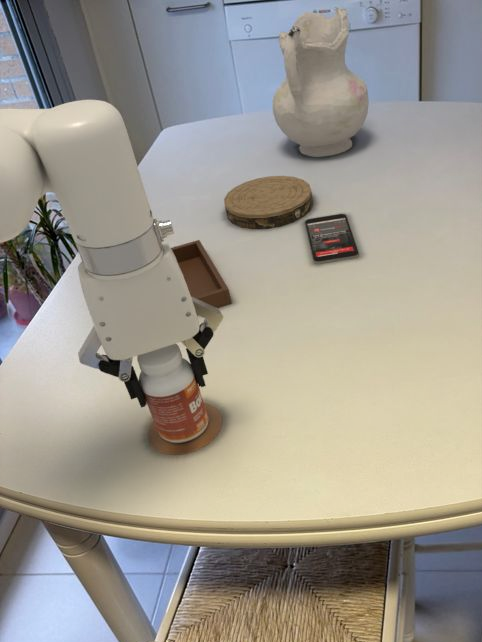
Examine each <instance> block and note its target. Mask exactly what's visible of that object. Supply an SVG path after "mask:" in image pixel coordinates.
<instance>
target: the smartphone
mask: <svg viewBox="0 0 482 642" xmlns="http://www.w3.org/2000/svg"><path fill="white" fill-rule="evenodd" d="M304 226H305V230H306V234H307V239H308V244H309V248H310V252H311V256H312V261H313V262H312V263H313V264H314V265H324V264H330V263H335V262H336V263H337V262H342V261H347V260H348V261H349V260H354V259H358V258H359V257H360V252H359V249H358V246H357V243H356V240H355V237H354V234H353V232H352V228H351V225H350V221H349V219H348V216H347V214H346V213H336V214H331V215H324V216H319V217H313V218H307V219H305V220H304Z"/></svg>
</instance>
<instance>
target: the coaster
mask: <svg viewBox="0 0 482 642" xmlns="http://www.w3.org/2000/svg"><path fill="white" fill-rule="evenodd" d="M204 405H205V408H206V411H207V415H208V425H207V427H206V429H205V430H204V431H203V432H202V433H201V434H200V435H199V436H198V437H196V438H194V439H192V440H190V441H186V442H182V443H173V442H169V441H166V440H165V439H163V438H162V437H161V436H160V435H159V433H158V431H157V428H156V426H155V423H154V420H153V419H152V421H151V423H150V425H149V427H148V431H147V439H148V441H149V444H150V445H151V447H152V448H153V449H154V450H156V451H157V452H159V453H161V454H165V455H169V456H180V455H181V456H182V455H188V454H191V453H194V452H197V451H200V450H201V449H203V448H205V447H206V446H208V445H209V444H211V443H212V442H213V441H214V440H215V439H216V438H217V437H218V435H219V434H220V432H221V430H222V427H223V418H222V414H221V412H220V411H219V410H218V409H217V408H216V407H215V406H213V405H212V404H210V403H208V402H204Z"/></svg>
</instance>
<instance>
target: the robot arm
mask: <svg viewBox="0 0 482 642" xmlns="http://www.w3.org/2000/svg"><path fill="white" fill-rule="evenodd" d="M47 193H52V194H54V195H55V198H56V201H57V203H58V205H59V207H60V210H61V212H62V215H63V217H64V220H65V222H66V225H67V227H68V230H69V232H70V235H71V237H72V239H73V241H74V245H75V247H76V249H77V251H78V254H79V257H80V259H81V262H80V263H79V264H78V267H77V271H78V279H79V282H80V287H81V291H82V294H83V297H84V301H85V304H86V307H87V310H88V312H89V316H90V318H91V321H92V324H93V326H92V328H91V330H90V331H89V333H88V335H87V337H86V339H85V340H84V342H83V344H82V345H81V347H80V349H79V351H78V353H77V356H78V357H77V358H78V360H79V363H80V364H82V365H84V366H86V367H90V368H92V369H96V370H97V369H98V370H99V371H100V372H101V373H104V374H106V375H109V376H112V377H116V378H118V380H119V381H121V382H123V384H124V386H125V389H126V390H127V393H128V395H129V398H130V400H134V399H137V401H138V403H139V406H140V409H141V408H145V407H146V406H148V405H147V402H146V400H145V397H144V395H143V392H142V390H141V387H140V384H139V377H138V375H137V373H136V370H135V368H134V366H133V359H134V358H135V357H137V356H138V355H141V354H145V353H148V352H151V351H154V350H157V349H160V348H164V347H167V346H170V345H173V344H178V343H182V345H184V347H185V350H186V351H185V352H186V354H187V357H188V360H189V363H190V364H191V366H192V368H193V370H194V373H195V376H196V379H197V382H198V386H199V388H205V387H207V385H206V381H205V379H204V376H206V375H209V372H208V369H207V366H206V362H205V359H204V356H205V353H206V351H205V350H206V348H207V346H208V345H209V343H210V342H211V340H212V339H213V337H214V334H215V333H214V332H215V331H217V330H218V327H219V326H220V324H221V323H222V321H223V320H224V315H223V313H222V311H221V309H220V308H216V307H214V306H211V305H209V304H207V303H205V302H203V301H200V300H198V299H196V298H194V297H192V296H191V295H190V293H189V290H188V287H187V284H186V282H185V279H184V276H183V274H182V271H181V269H180V267H179V265H178V262H177V260H176V257H175V255H174V253H173V251H172V249H171V248H172V247H171V246H170V244H169V243H168V241H166V240H165V239H167V238H168V236H171V235H173V234H175V231H174V228H173V225H172V222H171V220H170V219H168V220H167V219H166V220H163V221H162V220H158V219H157V218H154V215H153V211H152V207H151V206H150V201H149V199H148V196H147V192H146V189H145V187H144V182H143V179H142V177H141V173H140V169H139V166H138V163H137V160H136V156H135V154H134V150H133V146H132V143H131V140H130V137H129V133H128V129H127V127H126V124H125V121H124V118H123V116H122V115H121V113H120V111H119V110H118V109H117V108H116V107H115V106H114V105H113V104H111V103H109V102H108V101H105V100H101V99H98V100H97V99H81V100H73V101H69V102H65V103H61V104H58V105H56V106H53V107H51V108H0V244H2V243H5V242H8V241H11V240H13V239H14V238H16V237H17V236H19V235H20V234H22V232H23V231H24V230H25V229H26V228H27V227H28V225H29V223H30V222H31V220H32V218H33V215H34V213H35V210H36V208H37V206H38V203H39V200H40V199H41V198H43V197H44V196H45V195H46V194H47ZM198 316H199V317H200V318H203V319H204V320H203V322H202V323H200V321H199V318H198ZM101 347H102V349H103V351H104V353H105V354H100V352H98V351H99V349H100V348H101Z"/></svg>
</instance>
